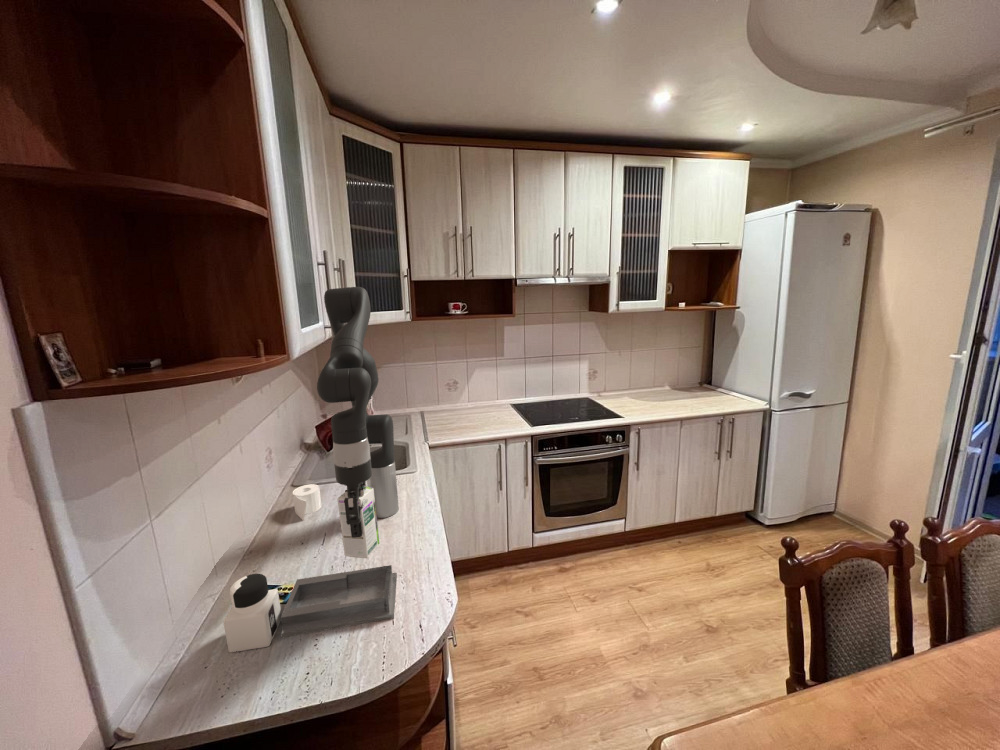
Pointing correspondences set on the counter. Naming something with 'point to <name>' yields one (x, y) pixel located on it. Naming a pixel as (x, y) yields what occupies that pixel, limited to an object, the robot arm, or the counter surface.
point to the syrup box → (370, 536)
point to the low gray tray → (340, 600)
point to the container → (252, 614)
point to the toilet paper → (306, 500)
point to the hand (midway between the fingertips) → (359, 526)
